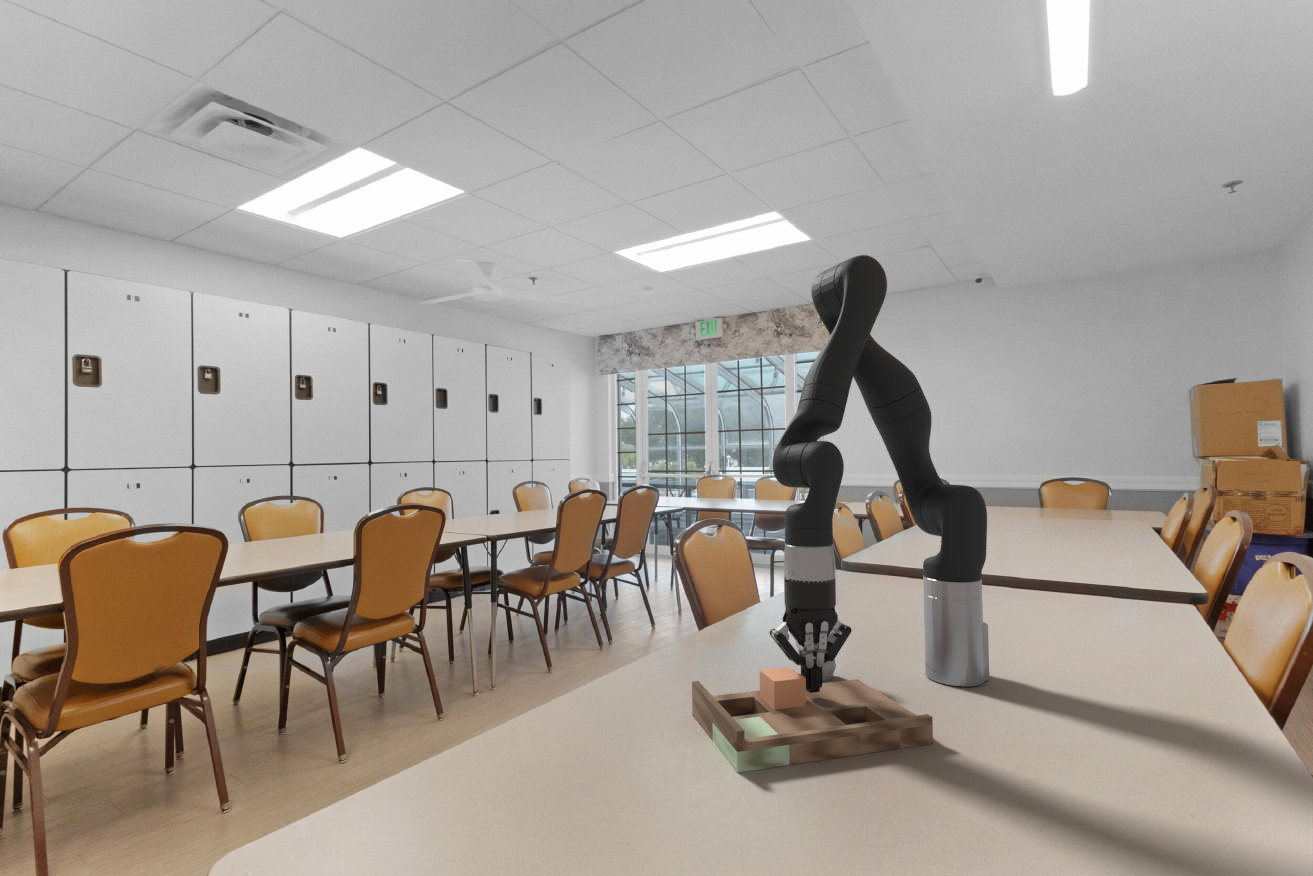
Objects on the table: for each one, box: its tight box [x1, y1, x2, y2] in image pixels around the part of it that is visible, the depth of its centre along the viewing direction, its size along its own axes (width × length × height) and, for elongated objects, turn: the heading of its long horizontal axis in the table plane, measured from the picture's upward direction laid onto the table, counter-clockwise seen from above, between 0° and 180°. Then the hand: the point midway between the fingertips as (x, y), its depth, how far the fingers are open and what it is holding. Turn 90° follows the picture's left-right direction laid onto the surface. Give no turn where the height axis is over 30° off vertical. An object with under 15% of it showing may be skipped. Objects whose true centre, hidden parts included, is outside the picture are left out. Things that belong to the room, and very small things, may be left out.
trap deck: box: [691, 678, 934, 773], centre depth 90 cm, size 28×18×5 cm, turn 105°
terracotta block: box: [759, 666, 806, 710], centre depth 94 cm, size 5×5×4 cm
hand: (811, 690), depth 95 cm, fingers closed
